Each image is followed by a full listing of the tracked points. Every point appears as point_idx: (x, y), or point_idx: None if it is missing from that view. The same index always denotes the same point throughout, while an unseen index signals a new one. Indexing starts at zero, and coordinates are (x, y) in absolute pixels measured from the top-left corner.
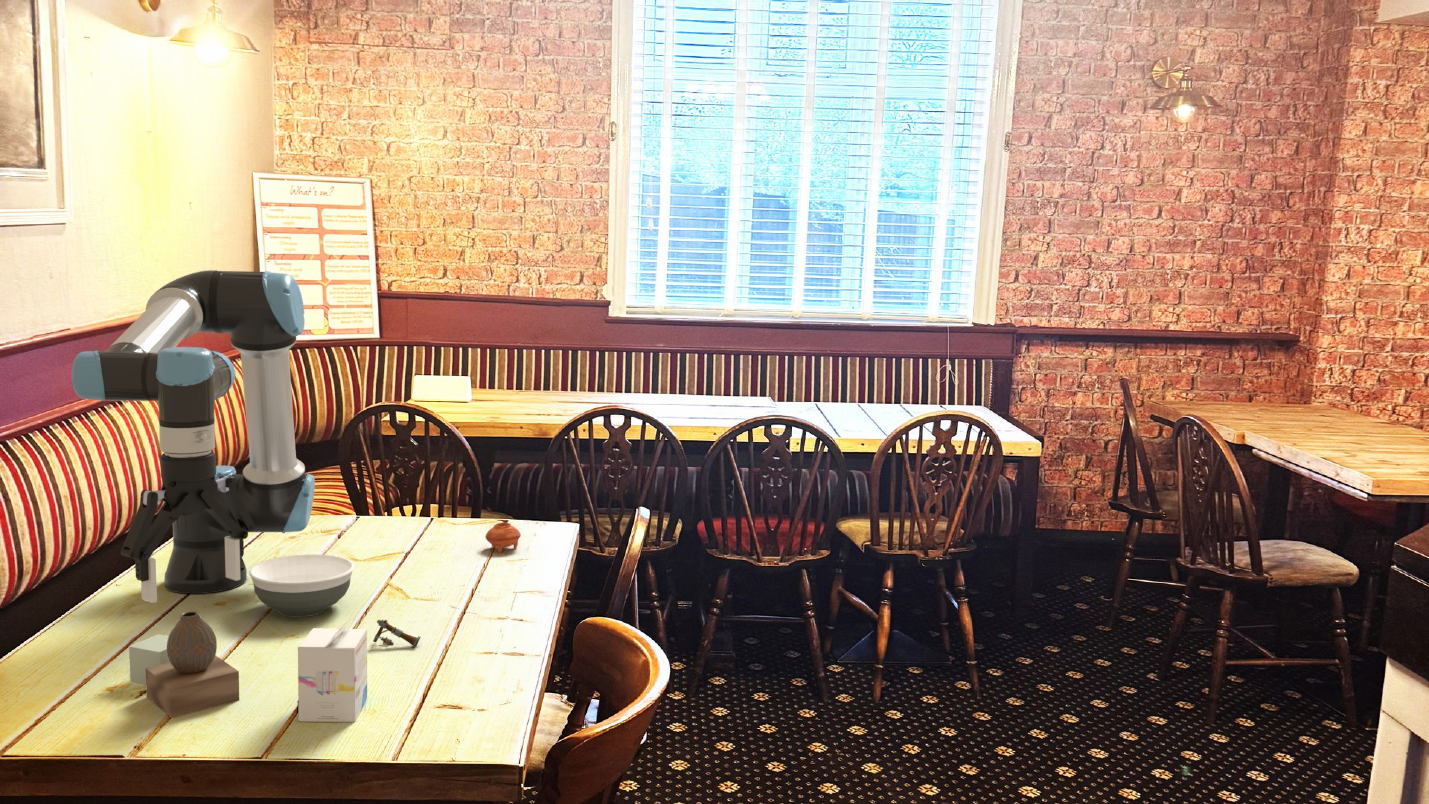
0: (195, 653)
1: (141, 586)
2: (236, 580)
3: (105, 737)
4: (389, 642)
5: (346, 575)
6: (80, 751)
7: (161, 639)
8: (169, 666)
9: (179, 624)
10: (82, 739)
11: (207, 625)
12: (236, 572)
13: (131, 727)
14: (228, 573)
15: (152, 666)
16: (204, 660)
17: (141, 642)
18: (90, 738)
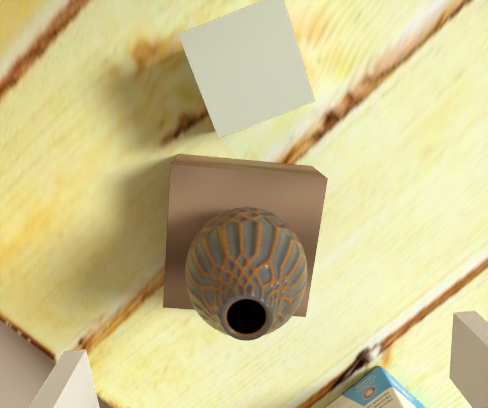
0: (227, 319)
1: (37, 395)
2: (451, 377)
3: (53, 278)
4: None
5: None
6: (3, 302)
7: (266, 43)
8: (215, 193)
9: (210, 308)
10: (19, 259)
11: (284, 320)
12: (472, 405)
13: (102, 268)
14: (464, 344)
15: (186, 166)
16: (248, 307)
17: (215, 28)
18: (31, 265)
